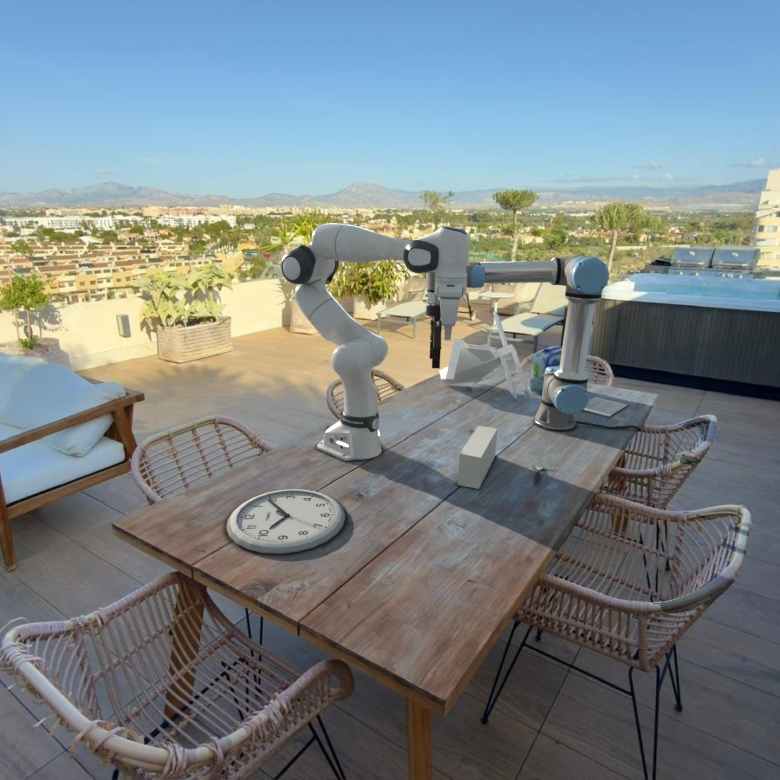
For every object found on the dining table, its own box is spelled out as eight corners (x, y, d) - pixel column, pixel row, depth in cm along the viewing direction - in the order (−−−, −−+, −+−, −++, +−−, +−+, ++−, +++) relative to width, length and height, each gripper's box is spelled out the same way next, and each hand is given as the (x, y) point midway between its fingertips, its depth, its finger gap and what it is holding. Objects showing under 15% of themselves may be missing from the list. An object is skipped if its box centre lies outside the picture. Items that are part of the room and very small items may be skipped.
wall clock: (345, 545, 122) (213, 550, 119) (345, 551, 122) (214, 556, 120) (344, 484, 150) (238, 487, 148) (345, 490, 151) (239, 492, 148)
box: (476, 453, 177) (478, 425, 174) (495, 456, 175) (497, 428, 172) (457, 484, 155) (459, 453, 152) (478, 489, 153) (481, 457, 150)
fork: (531, 484, 156) (531, 478, 156) (536, 462, 170) (536, 457, 170) (540, 485, 155) (541, 479, 155) (544, 464, 170) (545, 458, 169)
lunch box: (546, 399, 235) (551, 353, 228) (525, 393, 242) (530, 349, 236) (574, 387, 252) (579, 345, 246) (553, 383, 260) (558, 341, 253)
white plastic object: (461, 429, 252) (437, 405, 227) (444, 352, 274) (420, 323, 250) (535, 404, 240) (518, 377, 215) (510, 326, 262) (492, 293, 237)
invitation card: (608, 416, 214) (573, 407, 224) (608, 416, 214) (573, 408, 224) (628, 404, 229) (594, 396, 238) (628, 405, 229) (594, 397, 238)
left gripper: (440, 283, 156) (437, 329, 160) (438, 291, 136) (435, 343, 140) (461, 284, 155) (458, 330, 159) (462, 292, 136) (459, 344, 140)
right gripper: (424, 299, 193) (422, 354, 200) (428, 309, 170) (425, 372, 176) (444, 299, 193) (442, 355, 200) (451, 309, 170) (448, 372, 176)
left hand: (447, 336), depth 150 cm, fingers open, 8 cm apart
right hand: (434, 363), depth 188 cm, fingers open, 13 cm apart
